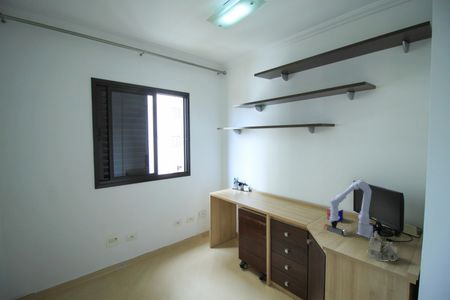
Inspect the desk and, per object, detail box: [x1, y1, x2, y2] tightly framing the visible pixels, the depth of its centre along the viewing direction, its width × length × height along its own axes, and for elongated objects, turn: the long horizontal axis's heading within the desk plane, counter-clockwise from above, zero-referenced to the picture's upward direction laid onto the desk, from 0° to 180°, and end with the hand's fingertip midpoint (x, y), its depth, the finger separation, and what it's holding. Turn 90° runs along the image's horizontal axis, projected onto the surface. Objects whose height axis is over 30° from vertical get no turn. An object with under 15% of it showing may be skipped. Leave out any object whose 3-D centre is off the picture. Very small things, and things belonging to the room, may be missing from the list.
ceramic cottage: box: [365, 230, 399, 261], centre depth 139 cm, size 16×16×15 cm
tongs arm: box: [324, 223, 344, 231], centre depth 178 cm, size 15×2×4 cm, turn 36°
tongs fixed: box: [323, 224, 348, 237], centre depth 176 cm, size 18×3×4 cm, turn 36°
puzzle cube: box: [326, 207, 344, 222], centre depth 204 cm, size 10×10×10 cm
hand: (334, 229), depth 179 cm, fingers closed
